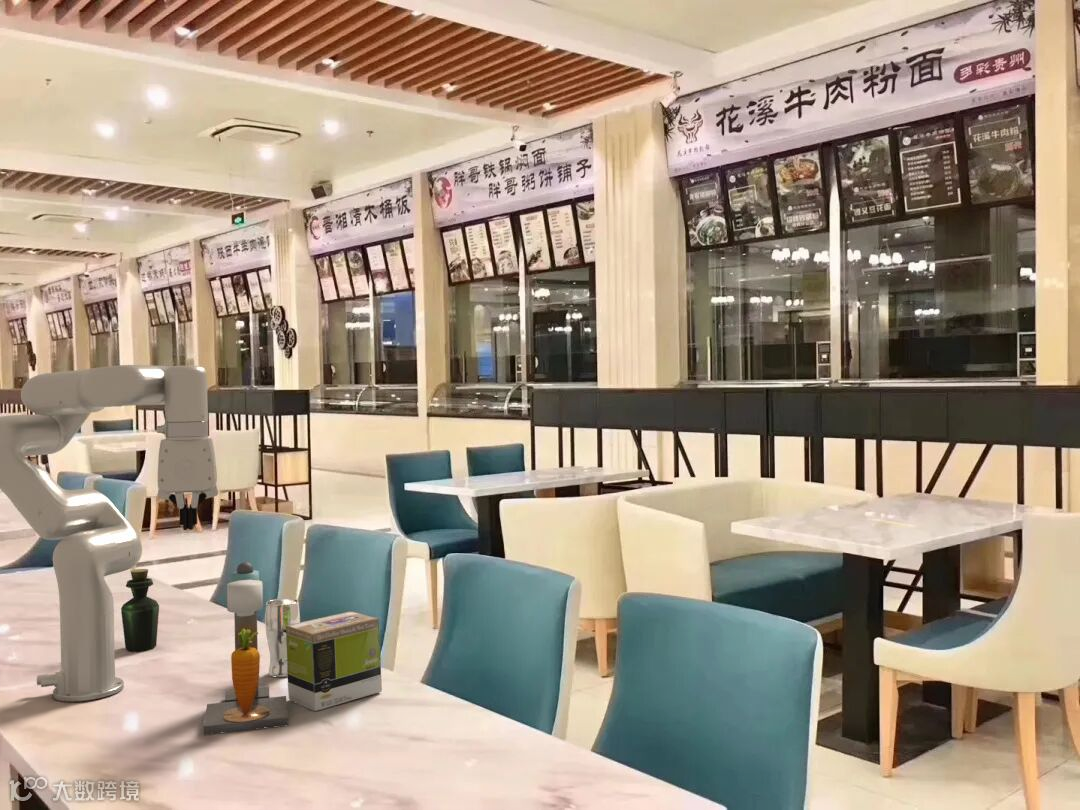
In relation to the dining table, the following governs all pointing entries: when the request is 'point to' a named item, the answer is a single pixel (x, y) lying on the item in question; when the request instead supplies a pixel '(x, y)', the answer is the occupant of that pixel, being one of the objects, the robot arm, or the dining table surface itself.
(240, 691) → the carrot
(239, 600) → the press arm
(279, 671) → the beer glass
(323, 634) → the tea box
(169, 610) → the dining table surface
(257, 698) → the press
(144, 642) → the potion bottle
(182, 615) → the dining table surface
